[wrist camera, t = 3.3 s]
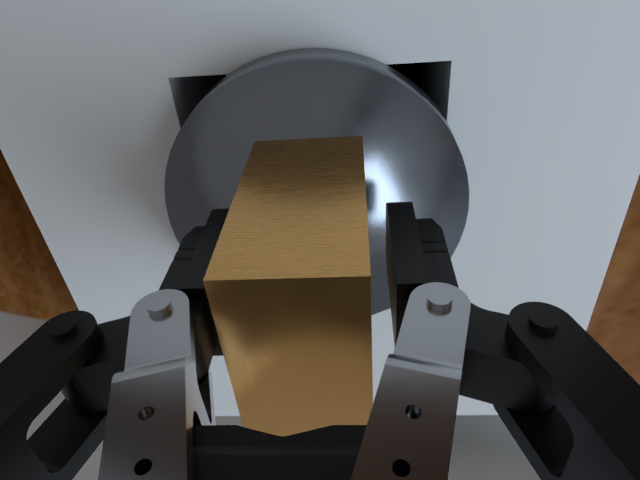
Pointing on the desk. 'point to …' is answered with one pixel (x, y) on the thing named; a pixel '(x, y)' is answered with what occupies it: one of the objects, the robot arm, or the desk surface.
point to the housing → (347, 35)
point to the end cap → (308, 221)
